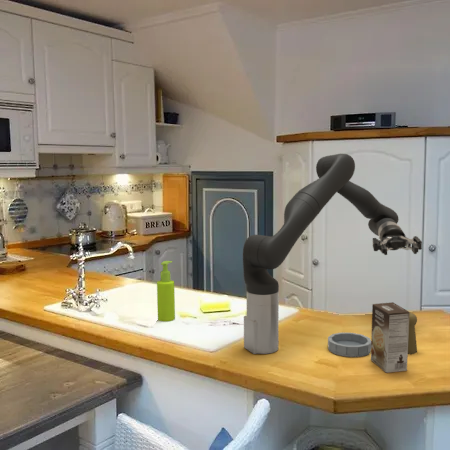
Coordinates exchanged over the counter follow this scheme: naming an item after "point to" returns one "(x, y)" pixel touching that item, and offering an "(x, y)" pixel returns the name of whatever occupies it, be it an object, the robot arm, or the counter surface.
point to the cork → (412, 334)
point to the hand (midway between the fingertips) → (400, 251)
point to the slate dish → (349, 344)
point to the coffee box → (390, 337)
